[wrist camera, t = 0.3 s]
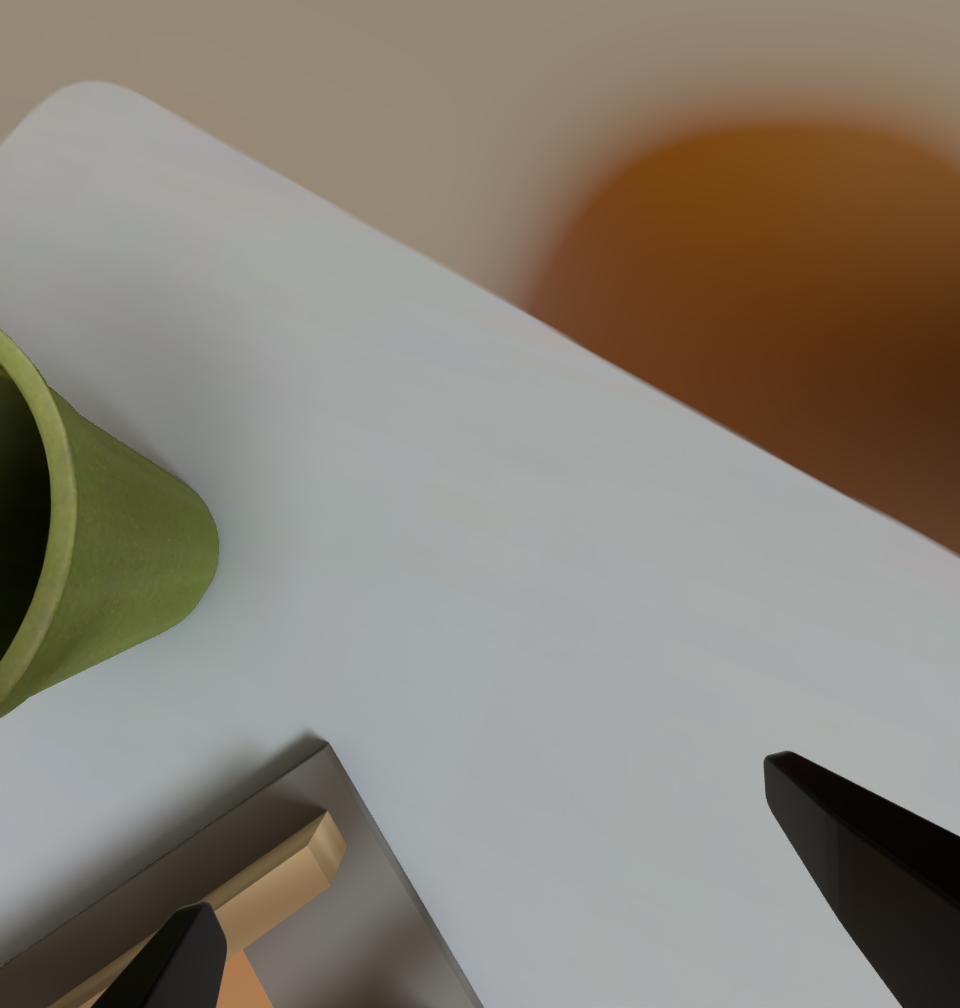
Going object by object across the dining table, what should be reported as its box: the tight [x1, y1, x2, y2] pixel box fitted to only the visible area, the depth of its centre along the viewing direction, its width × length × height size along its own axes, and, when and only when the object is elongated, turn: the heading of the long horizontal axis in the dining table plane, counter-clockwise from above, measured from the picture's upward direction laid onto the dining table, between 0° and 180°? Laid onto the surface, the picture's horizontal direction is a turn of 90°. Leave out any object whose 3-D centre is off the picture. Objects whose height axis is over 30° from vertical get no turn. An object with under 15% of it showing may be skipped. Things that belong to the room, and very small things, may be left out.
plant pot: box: [0, 329, 219, 718], centre depth 15 cm, size 12×12×11 cm
